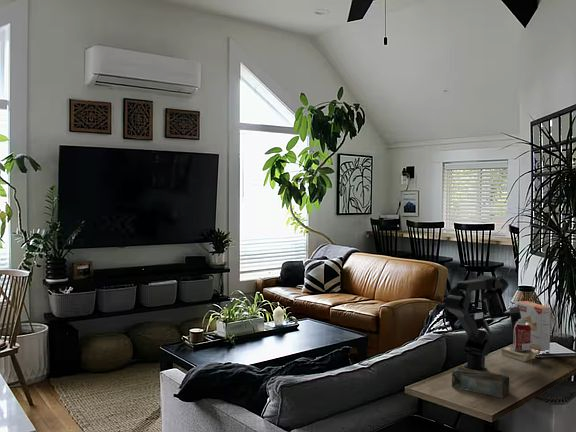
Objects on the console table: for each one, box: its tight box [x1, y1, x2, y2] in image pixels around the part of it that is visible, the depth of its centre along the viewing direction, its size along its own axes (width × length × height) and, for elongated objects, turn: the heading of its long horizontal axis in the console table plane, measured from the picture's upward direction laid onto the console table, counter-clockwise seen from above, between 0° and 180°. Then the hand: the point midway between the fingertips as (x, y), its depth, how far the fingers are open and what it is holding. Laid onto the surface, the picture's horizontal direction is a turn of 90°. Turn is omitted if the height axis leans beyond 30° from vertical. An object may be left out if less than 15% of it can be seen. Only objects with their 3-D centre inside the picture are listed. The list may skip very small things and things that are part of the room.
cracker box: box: [516, 300, 552, 351], centre depth 254 cm, size 14×6×21 cm, turn 23°
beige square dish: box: [501, 345, 540, 362], centre depth 246 cm, size 11×11×3 cm
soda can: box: [512, 321, 531, 352], centre depth 245 cm, size 7×7×12 cm
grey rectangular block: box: [451, 366, 510, 399], centre depth 207 cm, size 8×19×7 cm, turn 54°
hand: (501, 332), depth 241 cm, fingers open, 9 cm apart
